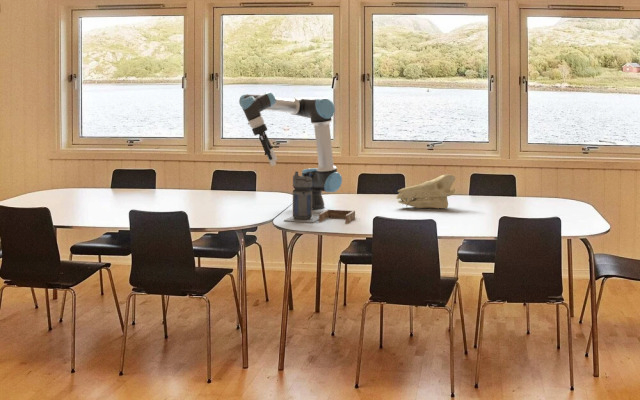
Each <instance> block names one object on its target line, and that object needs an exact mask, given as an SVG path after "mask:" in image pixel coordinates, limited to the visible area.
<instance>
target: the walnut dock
mask: <svg viewBox="0 0 640 400" xmlns="http://www.w3.org/2000/svg"><path fill="white" fill-rule="evenodd" d="M318 217H319V220H318V222H319V223H321V222H323V221H325V220H327V219H328V218H337V219H345V221H344V223H345V224H348V223H350V222H351V221H353V220H355V219H356V211H355V210H347V209H346V210H342V209H326V210H324V211H322V212H320V213H319V214H318Z"/></svg>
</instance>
